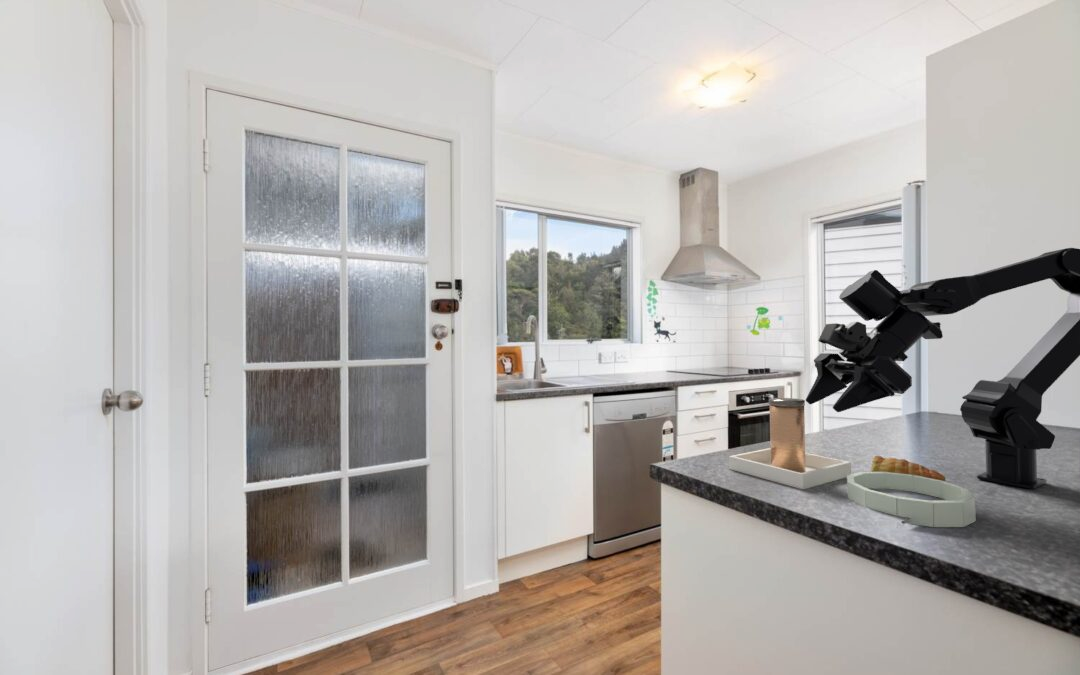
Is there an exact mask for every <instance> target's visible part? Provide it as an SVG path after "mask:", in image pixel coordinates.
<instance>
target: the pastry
mask: <svg viewBox="0 0 1080 675" xmlns="http://www.w3.org/2000/svg"><path fill="white" fill-rule="evenodd" d="M870 472H891V473H900V474H910V475H917V476H921V477H926V478H931V479H936V480H941V481H945V482H946V476H945V475H944V474H942V473H940V472H939V471H937V470H935V469H930V468H928V467H926V466H924V465H921V464H919V463H915V462H911V461H908V460H906V459H905V458H904V459H903V458H902V459H898V458H894V457H889V458H887V457H886V458H885V457H883V456H881V455H875V456H874V457H873V460H872V463H871V467H870Z"/></svg>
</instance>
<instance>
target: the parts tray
mask: <svg viewBox="0 0 1080 675" xmlns="http://www.w3.org/2000/svg"><path fill="white" fill-rule="evenodd" d="M805 462H806V472H803V473H799V472H795V471H791V470H787V469H783V468H779V467H775V466H771V447H768V448H763V449H758V450H755V451H747V452H744V453H739V454H734V455H729V456H728V468H729V470H731V471H735V472H739V473H741V474H746V475H750V476H753V477H757V478H760V479H763V480H768V481H770V482H774V483H778V484H782V485H786V486H789V487H792V488H793V487H794V488H797V489H800V490H806V489H810V488H813V487H817V486H821V485H824V484H828V483H830V482H834V481H837V480H838V481H839V480H842V479H847V475H851V474H852V462H851V461H847V460H841V459H838V458H831V457H827V456H822V455H817V454H812V453H808V452H805Z"/></svg>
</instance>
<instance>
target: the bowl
mask: <svg viewBox="0 0 1080 675" xmlns="http://www.w3.org/2000/svg"><path fill="white" fill-rule="evenodd" d="M873 489H891V490H898V491H906V492H907V491H908V492H914V493H919V494H923V495H926V496H932V497H934V498H940V499H941V500H939V499H938V500H934V499H933V500H928V499H918V498H912V497H906V496H905V497H904V496H899V495H898V496H897V495H893V494H889V493H885V492H880V491H877V490H873ZM846 492H847V499H849V500H852V502H855V503H857V504H859V505H861V506H862V507H865V508H867V509H871V510H875V511H878V512H880V513H881V512H882V513H886V514H889V515H893V516H897V517H901V518H902V517H903V518H907V519H905V520H902V521H901V523H903V524H909V525H910V524H911V525H917V526H923V527H931V528H965V527H967V526H969V525H970V524H971V525H972V523H973V524H974V522H976V521H977V518H976V514H977V513H976V497H975V495H974V494H973V493H971V492H970V490H969V489H968V488H965V487H962V486H959V485H956V484H953V483H951V482H948V481H946V480H945V481H941V480H936V479H931V478H926V477H921V476H917V475H910V474H900V473H891V472H871V471H859V472H855V473H851V475H847V477H846Z"/></svg>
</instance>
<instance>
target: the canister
mask: <svg viewBox="0 0 1080 675" xmlns="http://www.w3.org/2000/svg"><path fill="white" fill-rule="evenodd" d="M768 405H769V437H770V438H769V440H770V441H769V442H770V443H769V444H770V448H771V466H775V467H779V468H783V469H787V470H791V471H795V472H799V473H803V472H806V462H805V453H806V434H805V433H806V430H805V428H806V427H805V422H806V421H805V405H806V399H805V400H804V399H800V398H792V397H772V398H768Z"/></svg>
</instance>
